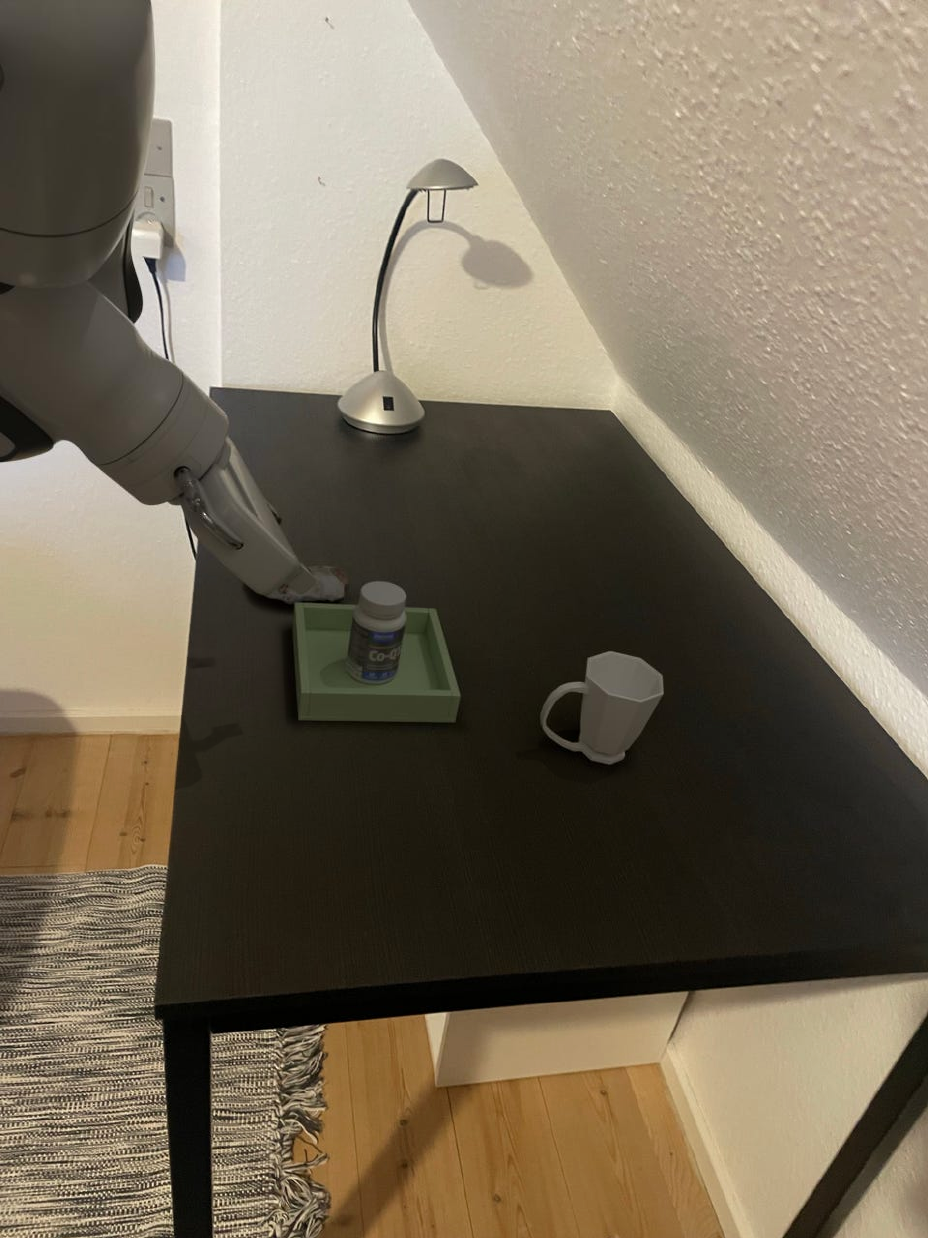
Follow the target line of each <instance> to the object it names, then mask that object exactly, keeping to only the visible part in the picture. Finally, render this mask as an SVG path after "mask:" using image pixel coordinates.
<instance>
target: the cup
mask: <svg viewBox="0 0 928 1238" xmlns="http://www.w3.org/2000/svg"><path fill="white" fill-rule="evenodd" d="M569 693H579V694H582V699H581V706H580V707H581V708H580V723H579V725H580V729H579V730H580V731H579V732H580V733H579V734H578V735H579V736H578V742H572V741H569V740H567V739H564V738H562V737H561V736H560V735H558V734H557V733H555V732H554V731H553V730H551V729H550V728H549V727H548V725H547V718H548V716H549V714H550V712H551V710H552V708H553V707H554V705H555V703H556V701H558V700H559V699H560V698H562V697H564V695H565V694H569ZM664 694H665V693H664V676H663V674H662V673H660V671H658V670H656V669H655V668H654V667H653V666H651V665H650V664H649V663H647V662H646V661H645V660H643V658H641V657H638V656H634V655H629V654H625V653H622V652H616V651H612V650H608V651H605V652H601V653H599V654H596V655H592V656H590V657H587V661H586V667H585V677H584V681H572V682H567V683H563V684H561V685H559V686H558V687H557V688H555V689H554V690H553V691H551V693H550V694H549V695H548V697H547V699H546V700H545V702H544V703H543V706H542V708H541V711H540V714H539V719H540V725H541V727H542V729H543V731H544V733H545V734H546V736H547V737H548V738H550V739H551V740H552V741H554V742H555V743H556V744H558V745H559V746H561V747H563V748H565V749H567V750H570V751H572V752H582V754H583V755H585V756H586V757H587V758H588V760H590V761H592V762H596V763H601V764H605V765H609V766H610V765H613V764H615V763H618V762H620V761H622V760H624V759H625V757H626V751H627V750H629V749H630V748H631V746H632V745H633V744H634V742H636V740H637V739H638V738H639V736H641V734H642V732H643V730H644V728H645V727H646V725H647V723H648V722H649V720H650V718H651V716H652V714H653V713H654V712H655V709H656V708H657V706H658V705H659V703H660V702H661V700H662V697H663V696H664Z"/></svg>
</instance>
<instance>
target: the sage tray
mask: <svg viewBox="0 0 928 1238" xmlns="http://www.w3.org/2000/svg"><path fill="white" fill-rule="evenodd" d="M357 605H358V604H344V603H343V604H341V603H339V604H338V603H321V602H320V603H319V602H295V603H294V604H293V615H292V627H291V628H292V630H291V631H292V643H293V644H292V645H293V646H292V647H293V660H294V676H295V690H296V706H297V708H296V709H297V719H298V721H317V722H318V721H320V722H322V721H323V722H327V721H328V722H385V723H386V722H389V723H390V722H391V723H395V722H397V723H400V722H401V723H456V721H457V715H458V711H459V707H460V702H461V698H462V695H461V691H460V688H459V684H458V681H457V677H456V675H455V671H454V668H453V664H452V659H451V657H450V654H449V650H448V646H447V643H446V639H445V637H444V636H445V635H444V632H443V630H442V629H443V628H442V627H441V622H440V619H439V615H438V612H437V609H436V608H432V607H429V608H427V607H406V606H405V608H404V611H405V613H406V626H405V631H404V637H403V642H402V649H401V654H400V659H399V665H398V671H397V674H396V676H395V677H394V678H393V679H392V680H390V681H388V682H386V683H382V684H367V683H363V682H360V681H358V680H356V679H355V678H353V677H352V676H351V675H350V674H349V673H348V671H347V668H346V660H347V653H348V646H349V639H350V632H351V624H352V617H353V612H354V609H355V607H356V606H357Z"/></svg>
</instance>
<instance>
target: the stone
mask: <svg viewBox="0 0 928 1238" xmlns="http://www.w3.org/2000/svg"><path fill="white" fill-rule="evenodd" d="M307 567H308V568H309V569H310V570H311V572H312V574H313V575H314V577H315V579H316V583H315V584H314V585H313V586H312V587H311V588H310V589H309V590H307V591H306V592H305V593H303V594H298V593H296V592H295V591H294V590H293V589H292V588H290V587H289V586H288V585H287V584H283V585H282V586H280V587H279V588H278V589H277V590H276V591H274V592H273V593H272V594H270V595H263V596H264V597H266V598H268V599H271V600H272V599H273V600H279V601H282V602H284V604H288V605H294V604H295V602H299V603H302V602H316V601H322V602H323V601H327V600H328V602H329V603H334V602H336V601H340V600H343V599H344V598H345V596H346V595H347V593H348V590H349V581H348V576H347V575H346V573H344V572H343V571H342V569H341V568H340V567H339V566H336V565H334V566H329V565H322V564H319V565H313V566H307Z"/></svg>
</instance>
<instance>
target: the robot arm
mask: <svg viewBox="0 0 928 1238" xmlns="http://www.w3.org/2000/svg"><path fill="white" fill-rule="evenodd" d="M153 12H154V11H153V5H152V0H0V464H3V463H10V462H16V461H17V462H18V461H22V460H27V459H31V458H34V457H37V456H40V455H41V456H42V455H43V454H46V453H49V452H50V451H51V450H53V448H55V445H56V444H59V442H62V441H65V442H68V443H72V444H73V445H75V447H76V448H78V449H79V450H80V451H81V452H82V454H83V455H84V456H85V458H86V460H88V461H89V462H90V463H91V464H92V465H94V466H95V467H96V468H97V469H98V470H99V471H100V472H102V473H103V474H105V475H106V476H107V477H108V478H110V480H112V481H113V482H115V483H116V484H117V485H118V486H119V487H121V488H122V489H123V490H124V491H126V492H127V493H128V494H129V495H131V496H132V497H133V498H134V499H135V500H137V501H138V502H139V503H140V504H142V505H145V506H158V505H162V504H165V503H167V504H169V505H171V506H180V507H181V510H182V512H183V515H184V517H185V519H186V522H187V525H188V526H189V529H190V530H191V532H192V533H193V535H194V536H195V537H196V538H197V540H198V541H199V542H200V543H201V545H202V546H204V547H205V548H206V550H208V552H210V553H211V554H212V555H213V556H214V557H215V558H216V559H217V560H218V561H219V562H220V563H221V564H222V565H224V566H225V568H227V569H228V570H229V571H230V572H231V573H233V574H234V576H236V577H237V578H238V579H239V580H240V581H242V583H244V584H245V585H246V586H247V587H248V588H249V589H251V590H252V591H253V592H254V593H256V594H258V595H261V596H264V595H270V594H272V593H273V592H274V591H276V590H277V589H278V588H279V587H280V586H282V585H283V584H287V585H288V586H289V587H290V588H292V589H293V590H294V591H295V592H296V593H298V594H303V593H305V592H306V591H307V590H309V589H310V588H311V587H312V586H313V585H314V584H315V583H316V579H315V577H314V575H313V574H312V572H311V570H310V569H309V568H308V567H309V566H307V565H306V564H305V563H304V562H303V561H301V560H300V558H298V557H297V555H296V554H295V551H294V550H293V547H292V546H291V544H290V542H289V540H288V539H287V537H286V535H285V533H284V532H283V530H282V528H281V525H282V523H283V519H282V517H281V515H280V513H279V511H278V509H276V508H275V506H273V505H272V504H271V503H270V502H269V501H268V500H267V499H266V498H265V497H264V495H263V494H262V492H261V490H260V488H259V486H258V485H257V483H256V481H255V479H254V477H253V476H252V474H251V472H250V470H249V468H248V467H247V465H246V462H245V461H244V459H243V457H242V456H241V454H240V452H239V450H238V449H237V447H236V445H235V444H234V442H233V441H232V440H231V437H229V435H228V434H229V428H230V423H229V418H228V415H227V413H226V412H225V411H224V410H223V409H222V408H221V407H220V406H219V405H218V404H217V403H216V402H215V401H214V400H213V399H212V398H211V397H210V396H209V395H207V394H206V393H205V392H204V390H202V389H201V387H199V385H198V384H196V383H195V382H194V380H193V379H191V378H190V377H189V375H187V374H186V373H185V372H184V371H183V370H182V369H181V368H180V367H179V366H178V365H177V364H176V363H175V362H173V361H172V360H170V359H169V358H168V359H167V358H166V357H164V356H163V355H161V354H159V353H157V352H156V351H155V350H153V348H151V346H149V345H148V344H147V342H146V341H145V340H144V339H143V337H142V335H141V334H140V332H139V330H138V329H137V327H136V325H135V324H136V323H137V322H138V320H139V319H140V317H141V316H142V313H143V309H144V295H143V290H142V286H141V283H140V278H139V277H138V273H137V270H136V267H135V264H134V260H133V255H132V237H133V236H132V235H133V227H134V221H135V219H134V218H135V213H136V205H137V201H138V199H139V196H140V195H139V194H140V192H141V188H142V183H143V179H144V174H145V170H146V166H147V162H148V156H149V150H150V143H151V136H152V129H153V128H152V126H153V121H154V120H153V119H154V111H155V98H156V97H155V96H156V42H155V41H156V40H155V27H154V25H155V24H154V13H153Z"/></svg>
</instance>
